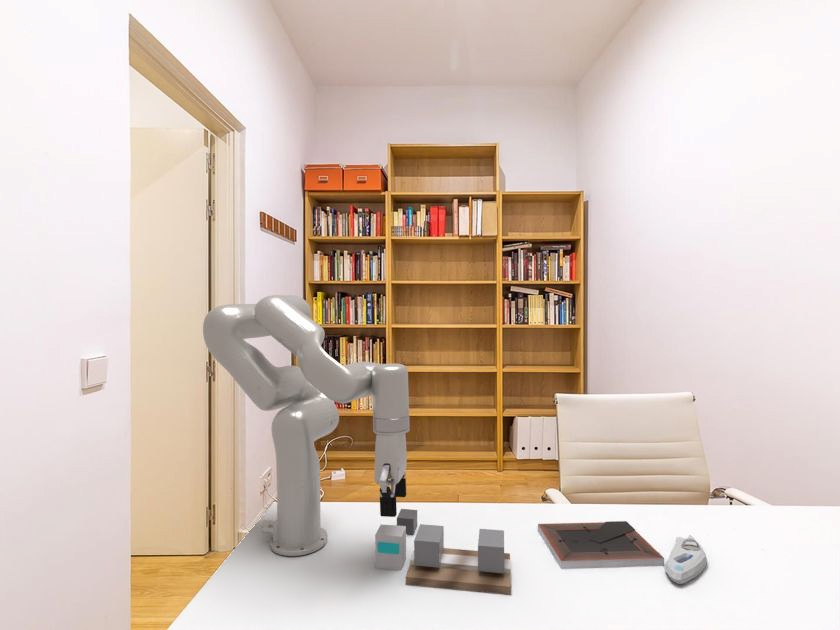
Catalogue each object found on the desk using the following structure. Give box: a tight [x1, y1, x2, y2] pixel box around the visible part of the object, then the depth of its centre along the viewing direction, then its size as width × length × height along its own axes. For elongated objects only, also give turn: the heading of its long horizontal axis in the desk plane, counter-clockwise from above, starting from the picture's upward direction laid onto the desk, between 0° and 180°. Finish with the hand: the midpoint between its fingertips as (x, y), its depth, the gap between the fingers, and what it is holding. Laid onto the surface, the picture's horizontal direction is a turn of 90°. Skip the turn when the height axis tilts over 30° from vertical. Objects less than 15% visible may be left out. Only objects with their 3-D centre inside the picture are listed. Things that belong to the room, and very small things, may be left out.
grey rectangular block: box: [396, 508, 418, 536], centre depth 115 cm, size 4×5×4 cm
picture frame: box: [537, 520, 665, 570], centre depth 107 cm, size 16×2×22 cm
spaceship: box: [664, 534, 708, 585], centre depth 101 cm, size 23×7×4 cm, turn 144°
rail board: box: [405, 547, 512, 596], centre depth 97 cm, size 20×12×2 cm, turn 80°
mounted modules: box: [413, 523, 505, 573], centre depth 97 cm, size 18×7×5 cm, turn 80°
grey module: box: [374, 524, 407, 571], centre depth 100 cm, size 6×5×7 cm
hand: (393, 505), depth 100 cm, fingers open, 9 cm apart
